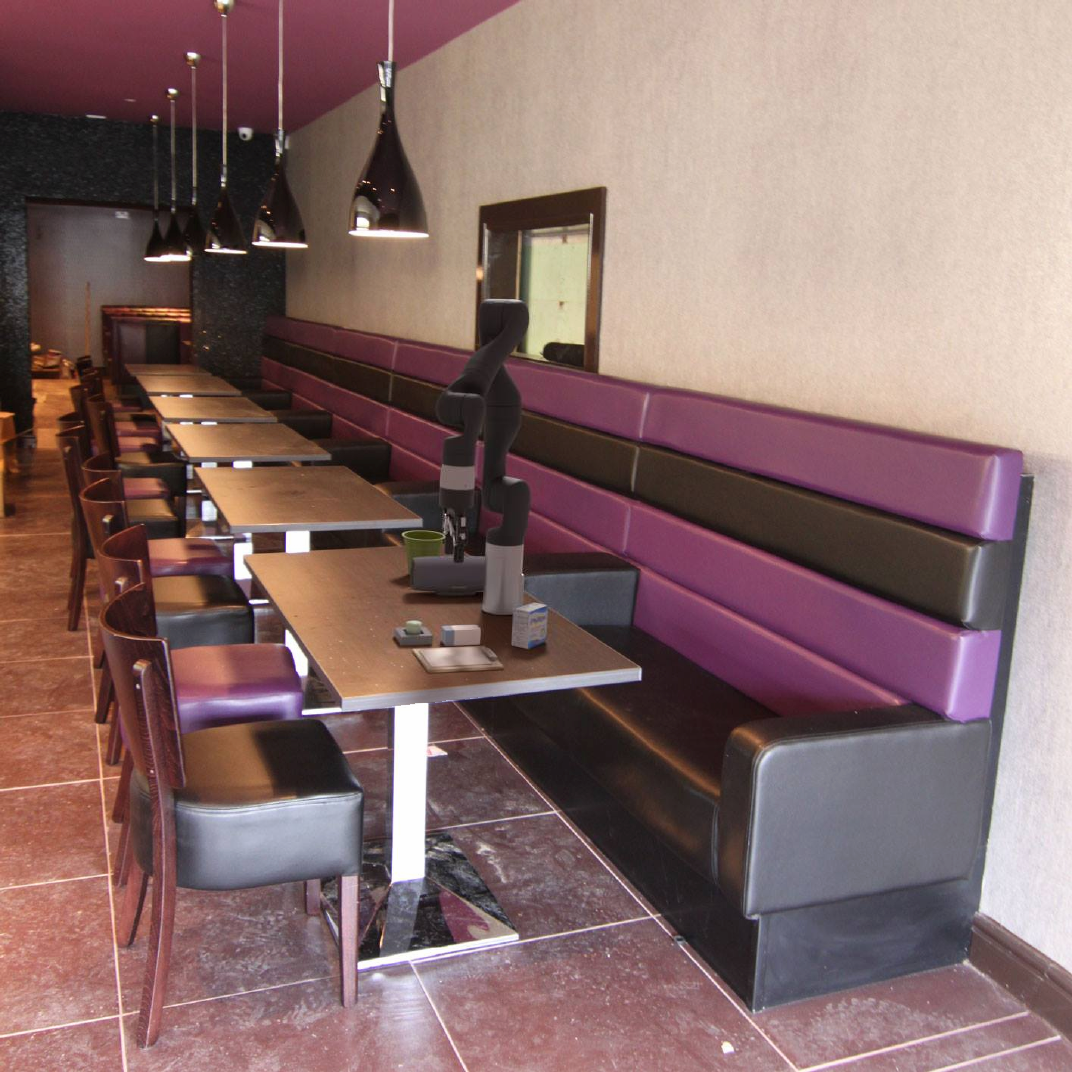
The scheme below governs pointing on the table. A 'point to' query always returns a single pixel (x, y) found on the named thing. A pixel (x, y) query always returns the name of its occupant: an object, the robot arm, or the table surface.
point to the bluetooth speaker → (448, 575)
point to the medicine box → (529, 625)
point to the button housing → (413, 637)
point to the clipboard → (457, 659)
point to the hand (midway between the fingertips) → (453, 558)
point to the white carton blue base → (460, 635)
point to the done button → (413, 627)
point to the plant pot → (422, 544)
